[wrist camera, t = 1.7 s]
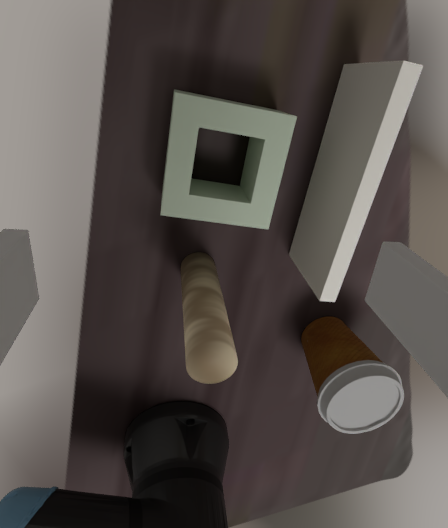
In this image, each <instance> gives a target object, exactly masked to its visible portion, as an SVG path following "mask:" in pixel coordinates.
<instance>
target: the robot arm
mask: <svg viewBox="0 0 448 528" xmlns="http://www.w3.org/2000/svg"><path fill="white" fill-rule="evenodd" d="M38 300H39V295H38V289H37V282H36V276H35V271H34V264H33V257H32V251H31V245H30V239H29V233H28V230H14V229H3V230H2V232H0V365H1V363H2V361H3V360H4V358H5V356H6V355H7V353H8V351H9V349H10V348H11V346H12V344H13V343H14V340H15V339H16V337H17V336H18V334H19V332H20V331H21V329H22V327H23V325H24V324H25V322H26V320H27V319H28V317H29V315H30V313H31V312H32V310H33V308H34V306H35V305H36V303H37V301H38ZM365 301H366V303H367V304H368V305H369V306H370V307H371V308H372V310H373V311H374V312H375V313H376V314H377V316H378V317H379V318H380V319H381V320H382V321H383V323H384V324H385V325H386V326H387V327H388V328H389V330H390V331H391V332H392V333H393V334H394V335H395V337H396V338H397V339H398V340H399V341H400V342H401V344H402V345H403V346H404V347H405V348H406V349H407V351H408V352H409V353H410V354H411V355H412V356H413V358H414V359H415V360H416V361H417V362H418V364H419V365H420V366H421V367H422V368H423V369H424V371H426V373H427V374H428V375H429V376H430V378H431V379H432V380H433V381H434V382H435V383H436V384H437V386H438V387H439V388H440V389H441V390H442V392H443V393H444V394H445V395H446V396H447V397H448V277H447V276H446V275H444V274H443V273H442V272H440V271H439V270H437V269H436V268H435V267H433V266H432V265H431V264H429V263H428V262H427V261H425V260H424V259H422V258H421V257H420V256H418V255H417V254H416V253H414V252H413V251H412V250H410V249H409V248H408V247H406V246H405V245H404V244H402V243H401V242H383V243H382V246H381V249H380V253H379V256H378V259H377V262H376V266H375V269H374V272H373V275H372V278H371V282H370V285H369V288H368V291H367V295H366V298H365ZM228 449H229V439H228V432H227V427H226V424H225V422H224V420H223V418H222V417H221V416H220V415H219V414H218V413H217V412H215V411H214V410H212V409H211V408H209V407H207V406H204V405H201V404H197V403H192V402H171V403H165V404H161V405H158V406H155V407H153V408H150V409H148V410H146V411H145V412H143V413H142V414H140V415H139V416H138V417H136V418H135V419H134V420H133V421H132V423H131V424H130V425H129V427H128V429H127V431H126V435H125V442H124V460H125V464H126V468H127V472H128V476H129V481H130V485H131V489H132V498H128V497H121V496H113V495H104V494H95V493H87V492H78V491H70V490H63V489H58V487H52V488H36V487H20V488H17V489H14V490H12V491H11V492H9V493H8V494H7V495H6V496H5V497H4V498H3V499H2V500H1V501H0V528H228V523H227V516H226V509H225V501H224V494H223V486H222V482H223V476H224V471H225V466H226V460H227V454H228Z"/></svg>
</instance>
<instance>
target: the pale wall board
mask: <svg viewBox="0 0 448 528" xmlns="http://www.w3.org/2000/svg"><path fill="white" fill-rule="evenodd" d="M422 68H423V65H420V64H415V63H411V62H407V61H389V62H372V63H355V64H344V66H343V69H342V73H341V76H340V80H339V83H338V87H337V90H336V94H335V97H334V101H333V104H332V107H331V111H330V114H329V118H328V121H327V125H326V128H325V132H324V135H323V138H322V142H321V145H320V149H319V152H318V156H317V159H316V163H315V166H314V169H313V173H312V176H311V180H310V183H309V187H308V190H307V194H306V197H305V201H304V204H303V207H302V211H301V214H300V218H299V221H298V225H297V228H296V232H295V235H294V238H293V242H292V245H291V249H290V252H289V256H290V257H291V259H292V260H293V262H294V263H295V265H296V266H297V268H298V269H299V271H300V272H301V274H302V275H303V277H304V278H305V280H306V281H307V283H308V284H309V286H310V287H311V289H312V290H313V292H314V293H315V295H316V296H317V298H318V300H319V301H326V302H335V301H336V298H337V296H338V293H339V290H340V288H341V285H342V282H343V280H344V277H345V274H346V272H347V269H348V266H349V264H350V261H351V258H352V256H353V253H354V250H355V248H356V245H357V242H358V240H359V237H360V234H361V231H362V229H363V226H364V223H365V221H366V218H367V215H368V213H369V210H370V207H371V205H372V202H373V199H374V197H375V194H376V191H377V189H378V186H379V183H380V181H381V178H382V175H383V173H384V170H385V167H386V165H387V162H388V159H389V156H390V154H391V151H392V148H393V146H394V143H395V140H396V138H397V135H398V132H399V130H400V127H401V124H402V122H403V119H404V116H405V114H406V111H407V108H408V106H409V103H410V100H411V98H412V95H413V92H414V90H415V87H416V84H417V81H418V79H419V76H420V73H421V71H422Z"/></svg>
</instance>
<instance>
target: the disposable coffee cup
mask: <svg viewBox="0 0 448 528" xmlns="http://www.w3.org/2000/svg"><path fill="white" fill-rule="evenodd" d="M301 342H302V345H303V349H304V352H305V356H306V359H307V362H308V366H309V369H310V373H311V376H312V380H313V383H314V386H315V390H316V393H317V396H318V400H317V405H318V411H319V413H320V415H321V417H322V418H323V419H324V420H325V421H326V422H328V423H329V424H330V425H331V426H332V427H333V428H334V429H335V430H338V431H340V432H343V433H349V434H357V433H362V432H367V431H371V430H373V429H376V428H378V427H380V426H382V425H384V424H385V423H386V422H388V421H389V420H390V419H391V418H393V417H394V416H395V414H396V413H397V412H398V411H399V409H400V407H401V405H402V403H403V400H404V391H403V388H402V381H401V378H400V376H399V374H398V373H397V372H396V371H395V370H394V369H393V368H391V367H390V366H388V365H386V364H384V363H383V362H382V361H381V360H379V358H378V357H377V356H376V355H375V354H374V353H373V352H372V351H371V350H370V349H369V348H368V347H367V346H366V345H365V344H364V343H363V342H362V341H361V340H360V339H359V338H358V337H357V336H356V335H355V334H354V333H353V332H352V331H351V330H350V329H349V328H348V327H347V326H346V325H345V324H344V322H343V321H341V320H340V319H338V318H336V317H322V318H319V319H316V320H314V321H313V322H311V323H310V324H309V325H308V326H307V327H306V328H305V329H304V331H303V333H302V337H301Z"/></svg>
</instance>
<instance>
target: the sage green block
mask: <svg viewBox="0 0 448 528" xmlns="http://www.w3.org/2000/svg"><path fill="white" fill-rule="evenodd" d="M296 119H297V116H294V115H291V114H288V113H285V112H282V111H279V110H275V109H270V108H265V107H260V106H255V105H250V104H245V103H240V102H235V101H230V100H225V99H220V98H215V97H210V96H205V95H200V94H195V93H190V92H185V91H180V90H175V89H174V94H173V103H172V112H171V120H170V129H169V138H168V146H167V155H166V164H165V172H164V181H163V190H162V200H161V215H163V216H170V217H178V218H185V219H193V220H201V221H208V222H216V223H223V224H231V225H239V226H246V227H254V228H261V229H269V225H270V221H271V217H272V213H273V209H274V205H275V201H276V197H277V193H278V189H279V186H280V182H281V178H282V174H283V170H284V166H285V162H286V158H287V154H288V150H289V146H290V142H291V138H292V135H293V131H294V127H295V123H296ZM199 127H200V128H205V129H211V130H216V131H222V132H227V133H233V134H238V135H244V136H249V137H250V138H249V143H248V148H247V153H246V157H245V162H244V167H243V172H242V177H241V182H240V186H237V185H231V184H224V183H218V182H211V181H205V180H198V179H192V178H191V177H192V170H193V163H194V157H195V150H196V143H197V136H198V130H199Z"/></svg>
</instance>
